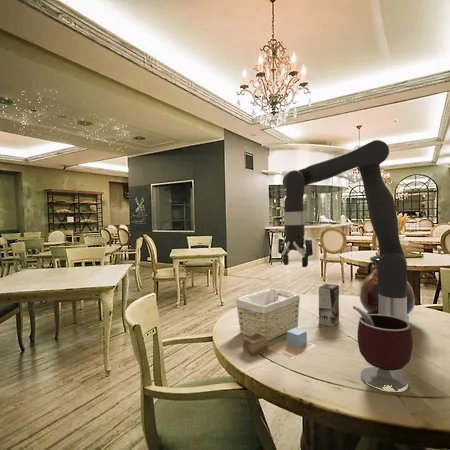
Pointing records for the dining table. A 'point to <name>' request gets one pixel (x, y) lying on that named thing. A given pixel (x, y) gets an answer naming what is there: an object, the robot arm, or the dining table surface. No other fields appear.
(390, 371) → the mate gourd
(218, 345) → the dining table surface
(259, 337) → the walnut block
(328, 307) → the coffee box
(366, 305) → the amphora vase
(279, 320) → the storage basket
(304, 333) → the slate cube
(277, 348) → the letter
